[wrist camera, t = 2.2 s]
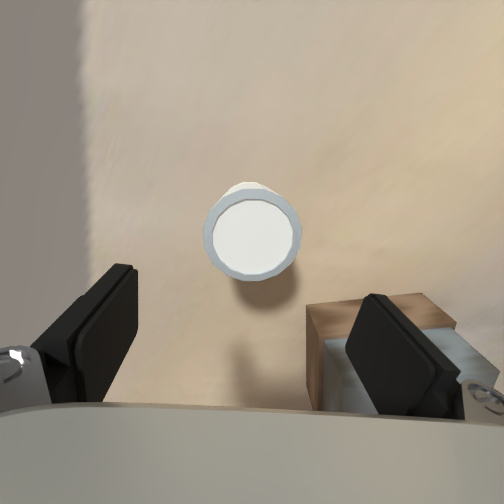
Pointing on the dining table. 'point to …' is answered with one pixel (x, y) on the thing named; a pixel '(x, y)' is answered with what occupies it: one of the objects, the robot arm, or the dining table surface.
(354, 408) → the grey and wood block
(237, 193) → the white grey-rimmed cylinder
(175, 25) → the dining table surface
